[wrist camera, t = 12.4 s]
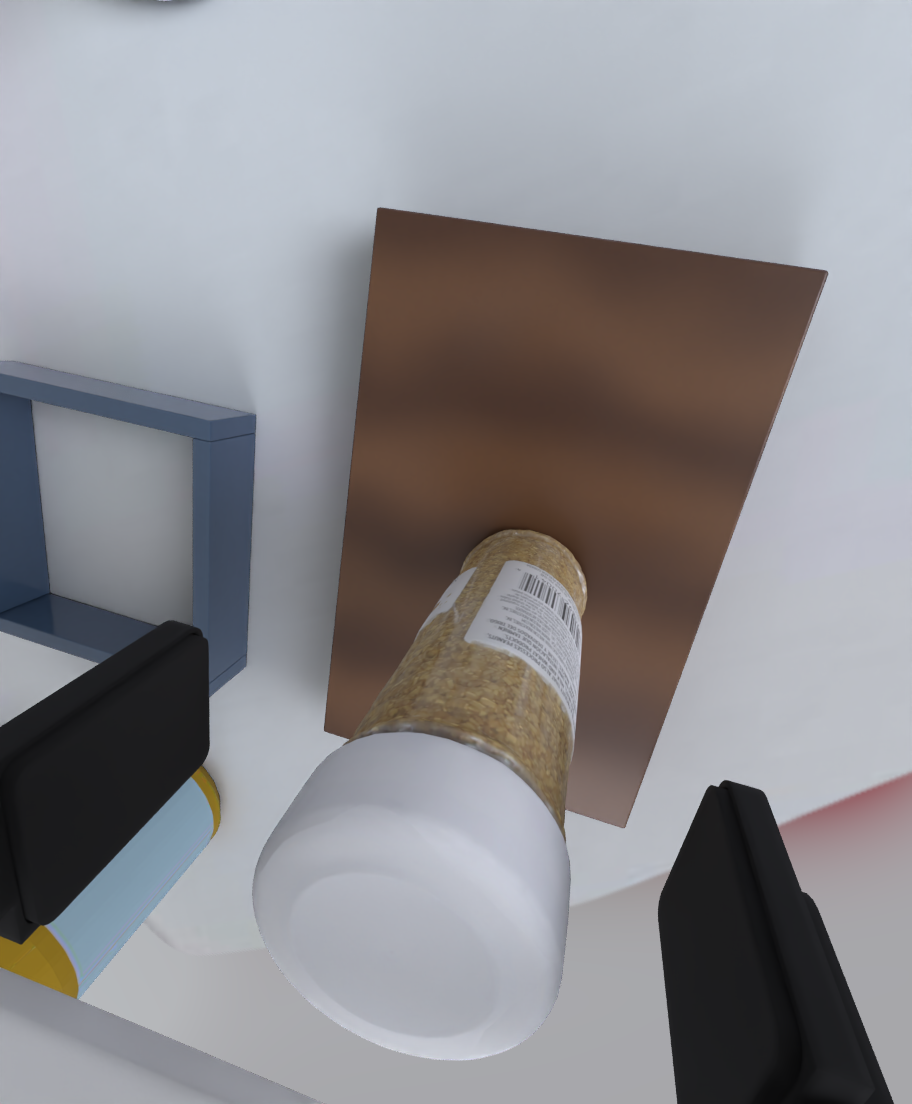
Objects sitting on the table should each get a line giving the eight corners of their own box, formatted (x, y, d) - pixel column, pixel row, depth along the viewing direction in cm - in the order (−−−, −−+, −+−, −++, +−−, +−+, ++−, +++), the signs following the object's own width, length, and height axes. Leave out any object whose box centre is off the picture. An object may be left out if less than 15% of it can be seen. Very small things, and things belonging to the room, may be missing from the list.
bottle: (225, 754, 30) (-92, 1079, 17) (230, 851, 33) (-44, 1205, 19) (117, 723, 32) (-257, 999, 18) (129, 818, 34) (-194, 1126, 20)
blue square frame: (13, 360, 26) (-58, 360, 23) (256, 414, 24) (210, 421, 21) (40, 602, 30) (-17, 626, 28) (246, 666, 28) (207, 699, 25)
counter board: (408, 227, 20) (376, 205, 17) (795, 284, 18) (830, 270, 15) (351, 694, 27) (322, 731, 24) (622, 777, 25) (625, 830, 22)
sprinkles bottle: (441, 552, 20) (182, 850, 8) (559, 506, 19) (469, 788, 6) (492, 660, 21) (332, 1081, 9) (610, 624, 19) (617, 1079, 7)
